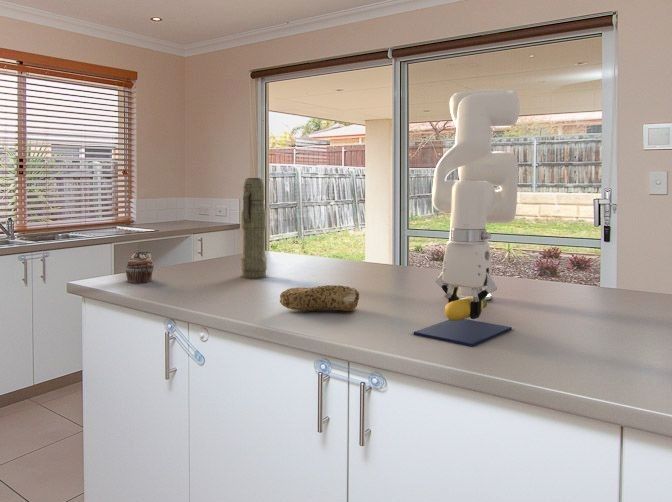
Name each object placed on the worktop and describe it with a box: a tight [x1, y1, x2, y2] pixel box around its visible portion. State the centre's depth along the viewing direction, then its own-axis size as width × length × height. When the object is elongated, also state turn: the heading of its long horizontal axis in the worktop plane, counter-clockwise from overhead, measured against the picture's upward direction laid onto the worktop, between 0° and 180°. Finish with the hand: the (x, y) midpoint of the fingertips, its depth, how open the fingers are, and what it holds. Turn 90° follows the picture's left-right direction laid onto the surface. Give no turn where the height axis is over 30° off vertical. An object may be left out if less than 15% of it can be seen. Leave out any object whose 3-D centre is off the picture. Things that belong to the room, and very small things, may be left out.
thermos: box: [240, 177, 268, 279], centre depth 211 cm, size 9×12×35 cm
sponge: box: [279, 284, 360, 312], centre depth 159 cm, size 13×8×20 cm
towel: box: [413, 318, 513, 347], centre depth 137 cm, size 14×20×1 cm
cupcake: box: [124, 251, 155, 284], centre depth 203 cm, size 10×10×10 cm
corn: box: [444, 296, 488, 321], centre depth 137 cm, size 16×4×4 cm, turn 136°
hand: (464, 315), depth 136 cm, fingers closed on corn, 4 cm apart
